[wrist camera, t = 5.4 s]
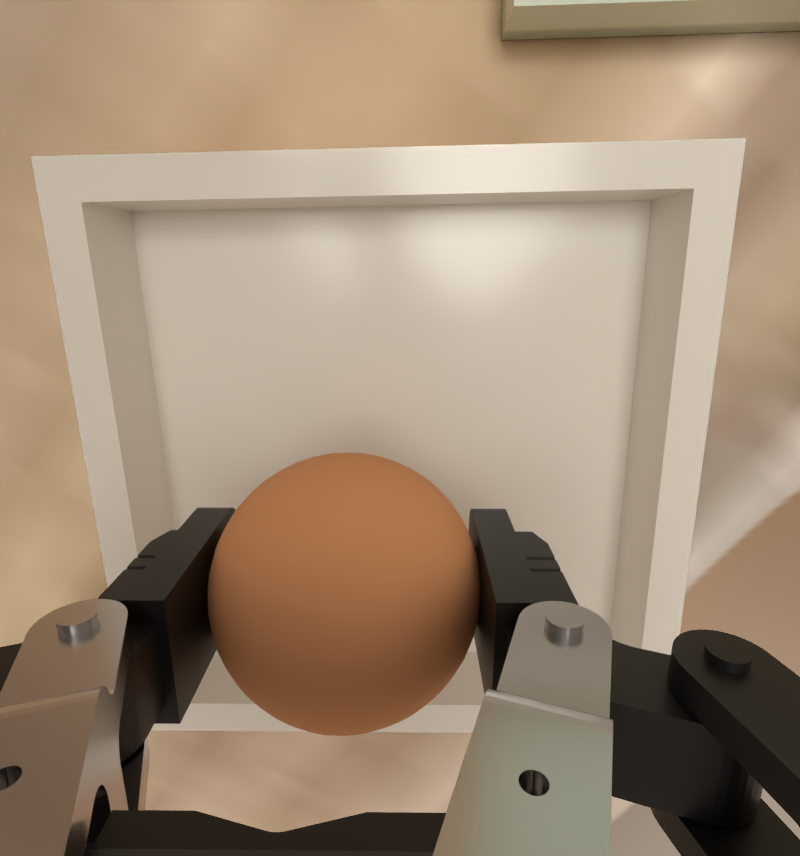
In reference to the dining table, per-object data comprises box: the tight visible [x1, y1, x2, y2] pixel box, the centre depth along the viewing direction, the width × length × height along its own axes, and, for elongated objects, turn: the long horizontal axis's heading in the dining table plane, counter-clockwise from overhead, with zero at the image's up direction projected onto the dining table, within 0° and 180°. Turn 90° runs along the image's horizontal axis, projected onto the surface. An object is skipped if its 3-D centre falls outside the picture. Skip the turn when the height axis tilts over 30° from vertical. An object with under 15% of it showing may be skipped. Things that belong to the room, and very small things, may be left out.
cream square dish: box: [31, 138, 746, 733], centre depth 16 cm, size 16×16×3 cm
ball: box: [208, 452, 480, 736], centre depth 11 cm, size 5×5×5 cm
